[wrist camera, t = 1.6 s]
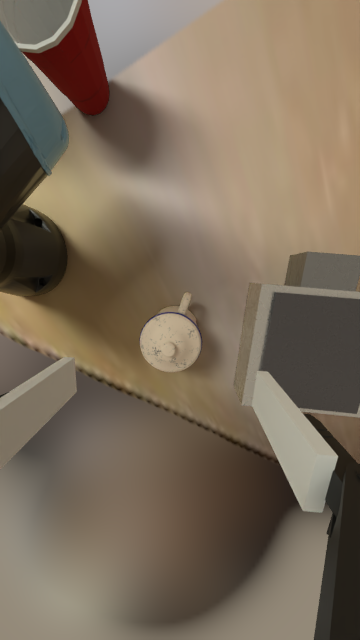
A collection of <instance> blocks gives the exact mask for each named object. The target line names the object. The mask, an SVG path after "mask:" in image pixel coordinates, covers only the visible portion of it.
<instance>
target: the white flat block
mask: <svg viewBox="0 0 360 640" xmlns="http://www.w3.org/2000/svg"><path fill="white" fill-rule="evenodd" d="M359 276H360V256H356V255H343V254H330V253H317V252H304V253H300V254H295V255H291V256H290V259H289V264H288V270H287V275H286V280H285V285H284V286H282V285H270V284H258V283H249V290H248V296H247V303H246V309H245V316H244V322H243V329H242V335H241V342H240V348H239V354H238V361H237V367H236V374H235V380H234V388H235V391H236V393H237V396H238V398H239V401H240V403H241V405H243V406H252V400H253V393H254V387H255V380H256V374H257V371H267V372H269V373H270V375H271V376H272V377H273V378H274V379H275V381H276V382H277V383H278V384H279V386H280V387H281V388H282V389H283V390H284V392H285V393H286V394H287V395H288V396H289V398H290V399H291V400H292V401H293V402H294V404H295V405H296V406H297V407H298V408H299V410H300V411H301V412H311V413H320V414H330V415H340V416H349V417H359V418H360V292H355V291H356V287H357V284H358V280H359Z"/></svg>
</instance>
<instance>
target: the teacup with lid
mask: <svg viewBox="0 0 360 640" xmlns="http://www.w3.org/2000/svg"><path fill="white" fill-rule="evenodd" d="M191 298H192V294H191V293H188V292H185V293H184V295H183V298H182V301H181V304H180V306H169V307H166V308H164V309H162V310H160V311H159V312H158V313H157V314H156V315H155V316H154V317H152V318H151V319H150V320H149V321H148V322H147V323H146V324H145V325H144V327H143V329H142V331H141V334H140V348H141V351H142V354H143V356H144V358H145V359H146V360H147V362H148V363H149V364H150V365H152V366H153V367H155V368H156V369H158V370H161V371H165V372H178V371H182V370H184V369H186V368H188V367H190V366H191V365H192V364H193V363H194V362H195V361H196V360H197V358H198V357H199V355H200V352H201V349H202V337H201V333H200V330H199V328H198V323H197V320H196V318H195V316H194V315H193V314H192V313H191V312H190V311H189V310H187V309H188V306H189V304H190V301H191Z"/></svg>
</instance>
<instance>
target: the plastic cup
mask: <svg viewBox="0 0 360 640" xmlns="http://www.w3.org/2000/svg"><path fill="white" fill-rule="evenodd" d="M0 21H1V22H2V24H3V25H4V27H5V28H6V30H7V31H8V33H9V34H10V36H11V37H12V39H13V40H14V42H15V43H16V45H17V46H18V48H19V49H20V51H21V52H22V53H23V54H24V55H25V56H26V57H27V58H28V59H30V60H31V61H32V62H33V63H34V64H35V65H36V66H37V67H38V68H39V69H40V70H41V71H42V72H43V73H44V74H45V75H46V76H47V77H48V78H49V79H50V81H51V82H52V83H53V84H54V85H55V86H56V87H57V88H58V89H59V90H60V91H61V92H62V93H63V94H64V95H66V96H67V97H68V99H69V100H70V101H72V103H73V104H74V105H75V106H76V107H77V108H78V109H80V110H81V111H82V112H84V113H85V114H88V115H96V114H99V113H101V112H102V111H103V110H104V109H105V108H106V105H107V103H108V101H109V85H108V81H107V77H106V73H105V69H104V64H103V59H102V55H101V52H100V48H99V44H98V40H97V37H96V33H95V29H94V25H93V22H92V17H91V13H90V9H89V4H88V0H0Z"/></svg>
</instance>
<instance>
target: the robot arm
mask: <svg viewBox="0 0 360 640" xmlns="http://www.w3.org/2000/svg"><path fill="white" fill-rule="evenodd" d="M68 143H69V134H68V129H67V126H66V123H65V121H64V119H63V117H62V115H61V114H60V112H59V110H58V109H57V107H56V106H55V104H54V102H53V101H52V99H51V97H50V96H49V94H48V93H47V91H46V89H45V88H44V86H43V85H42V83H41V82H40V80H39V78H38V77H37V75H36V74H35V73H34V71H33V69H32V68H31V66H30V65H29V63H28V61H27V60H26V58H25V57H24V56H23V54H22V52H21V51H20V49H19V48H18V46H17V45H16V43H15V42H14V40H13V39H12V37H11V36H10V34H9V33H8V31H7V30H6V28H5V27H4V25H3V24H2V22H1V21H0V292H4V293H8V294H12V295H16V296H33V295H40V294H44V293H46V292H48V291H50V290H52V289H53V288H54V287H56V286H57V285H58V283H59V282H60V281H61V279H62V277H63V275H64V273H65V270H66V265H67V251H66V246H65V242H64V240H63V237H62V235H61V233H60V231H59V230H58V228H57V227H56V226H55V224H54V223H53V222H52V221H51V220H50V219H49V218H48V217H47V216H45V215H44V214H42V213H41V212H39V211H37V210H35V209H33V208H30V207H28V206H26V205H23V203H24V202H25V200H26V199H27V198H28V197H29V196H30V195H31V193H32V192H33V191H34V190H35V189H36V188H37V187H38V186H39V184H40V183H41V182H42V181H43V180H44V179H45V178H46V176H47V175H48V176H50V175H51V174H52V172H51V170H52V169H53V167H54V166H55V164H56V163H57V161H58V160H59V159H60V157H61V156H62V155H63V153H64V152H65V151H66V149H67V147H68ZM76 392H77V389H76V374H75V359H74V358H71V357H63V358H62V359H60V360H59V361H57V362H56V363H54V364H53V365H51V366H50V367H48V368H46V369H45V370H43V371H42V372H40V373H38V374H37V375H35V376H34V377H32V378H31V379H29V380H27V381H26V382H24V383H23V384H21V385H20V386H18V387H17V388H15V389H14V390H12V391H10V392H8V393H5V394H3V395H1V396H0V469H1V468H2V467H3V466H4V465H5V464H6V463H7V462H8V461H9V460H10V459H11V458H12V457H13V456H14V455H15V454H16V453H17V452H18V451H19V450H20V449H21V448H22V447H23V445H25V444H26V443H27V442H28V441H29V440H30V439H31V438H32V437H33V436H34V435H35V434H36V433H37V432H38V431H39V429H40V428H42V426H44V424H45V423H46V422H47V421H48V420H49V419H50V418H51V417H52V416H53V415H54V414H55V413H56V412H57V411H58V410H59V409H60V408H61V407H62V406H63V405H64V404H65V403H66V402H67V401H68V400H69V399H70V398H71V397H72V396H73V395H74V394H75V393H76ZM252 407H253V409H254V411H255V413H256V415H257V417H258V419H259V421H260V423H261V426H262V428H263V430H264V432H265V434H266V436H267V438H268V440H269V442H270V444H271V446H272V448H273V450H274V452H275V454H276V456H277V458H278V461H279V463H280V465H281V467H282V469H283V471H284V473H285V475H286V477H287V479H288V481H289V483H290V485H291V487H292V489H293V491H294V494H295V496H296V498H297V500H298V502H299V504H300V505H301V508H302V510H303V511H309V512H320V513H322V512H323V508H324V505H325V502H327V504H328V505H329V507H330V509H331V510H332V512H333V514H332V517H331V520H330V524H329V527H328V530H327V534H328V535H329V536H328V544H327V550H326V558H325V565H324V571H323V578H322V585H321V594H320V600H319V607H318V614H317V621H316V628H315V635H314V640H360V464H358V463H357V462H356V461H355V460H354V459H353V458H352V457H351V455H350V454H349V453H348V452H347V451H346V450H345V449H344V448H343V447H342V445H341V444H340V443H339V442H338V441H337V440H336V439H335V438H334V437H333V435H332V434H331V433H330V432H329V431H327V429H326V428H325V427H324V426H323V424H322V423H321V422H320V421H318V420H317V419H316V418H314V417H313V416H311V415H310V414H303V413H302V412H301V411H300V410H299V408H298V407H297V406H296V405H295V404H294V402H293V401H292V400H291V399H290V398H289V396H288V395H287V394H286V393H285V392H284V390H283V389H282V388H281V387H280V386H279V384H278V383H277V382H276V381H275V379H274V378H273V377H272V376H271V375H270V373H269V372H267V371H257V374H256V380H255V387H254V393H253V400H252Z"/></svg>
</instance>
